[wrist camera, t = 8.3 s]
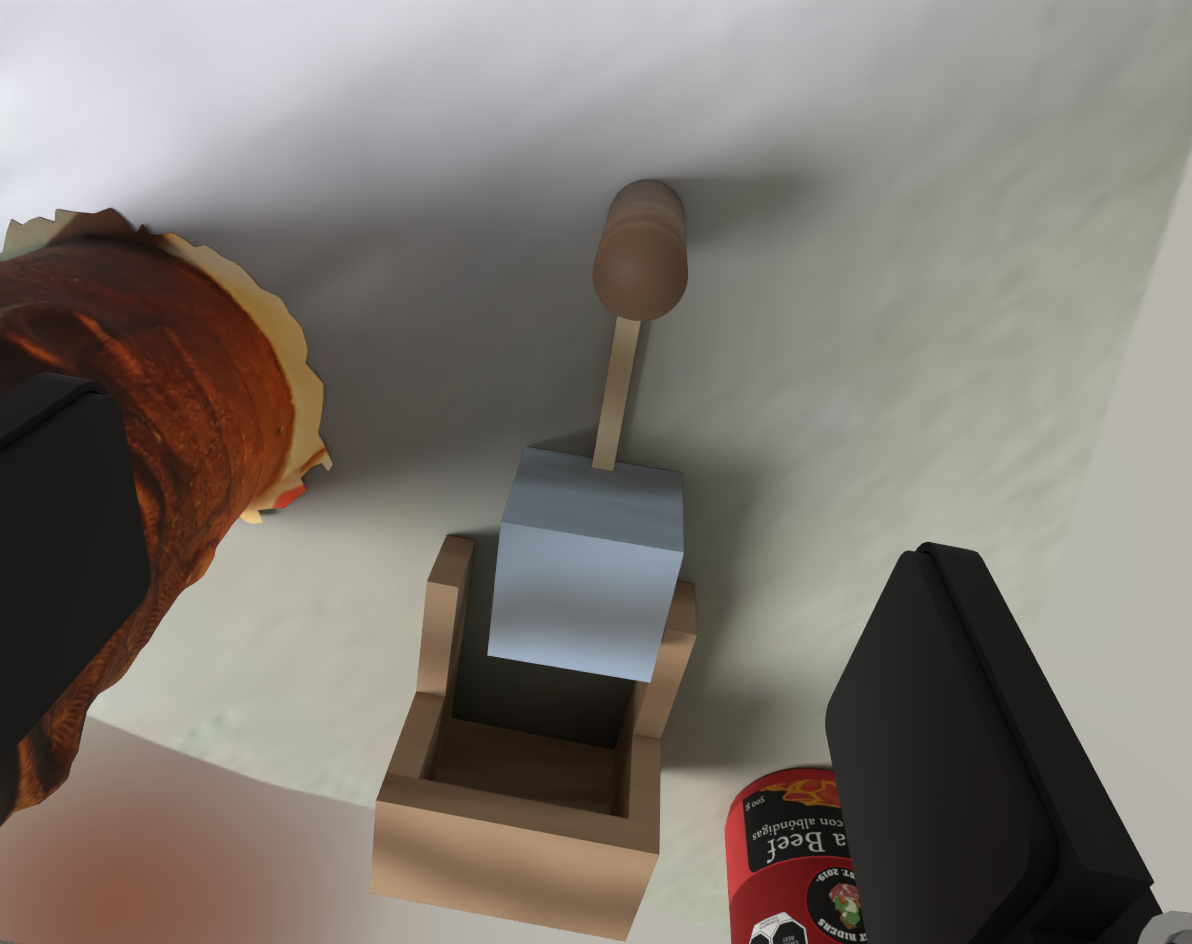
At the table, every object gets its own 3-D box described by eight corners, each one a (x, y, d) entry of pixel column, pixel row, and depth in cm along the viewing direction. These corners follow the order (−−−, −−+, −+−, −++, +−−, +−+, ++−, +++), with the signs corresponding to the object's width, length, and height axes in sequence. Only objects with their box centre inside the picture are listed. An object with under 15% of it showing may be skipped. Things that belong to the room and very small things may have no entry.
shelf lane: (446, 534, 32) (383, 684, 25) (694, 585, 32) (701, 746, 25) (425, 729, 38) (369, 893, 31) (633, 770, 38) (625, 941, 31)
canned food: (901, 774, 37) (979, 1036, 28) (854, 872, 41) (909, 1129, 32) (740, 752, 37) (764, 1006, 28) (710, 852, 41) (722, 1102, 32)
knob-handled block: (557, 163, 24) (527, 207, 19) (748, 196, 24) (769, 249, 19) (511, 569, 33) (481, 675, 27) (653, 593, 33) (649, 703, 28)
